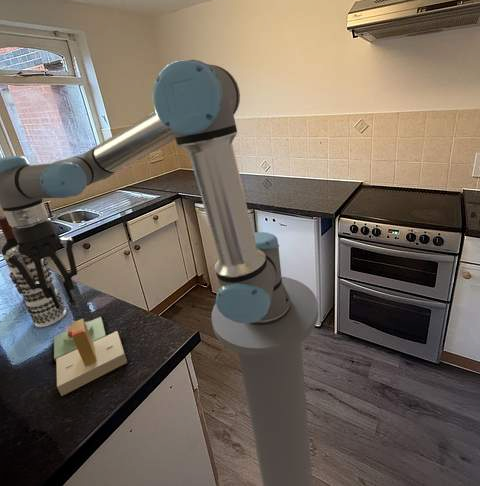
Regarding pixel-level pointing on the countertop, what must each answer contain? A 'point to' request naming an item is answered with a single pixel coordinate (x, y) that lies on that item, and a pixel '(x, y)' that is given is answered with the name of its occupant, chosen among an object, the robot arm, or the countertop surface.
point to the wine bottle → (7, 236)
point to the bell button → (70, 331)
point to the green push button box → (67, 344)
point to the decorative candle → (36, 292)
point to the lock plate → (78, 374)
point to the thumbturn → (83, 342)
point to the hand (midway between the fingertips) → (65, 302)
